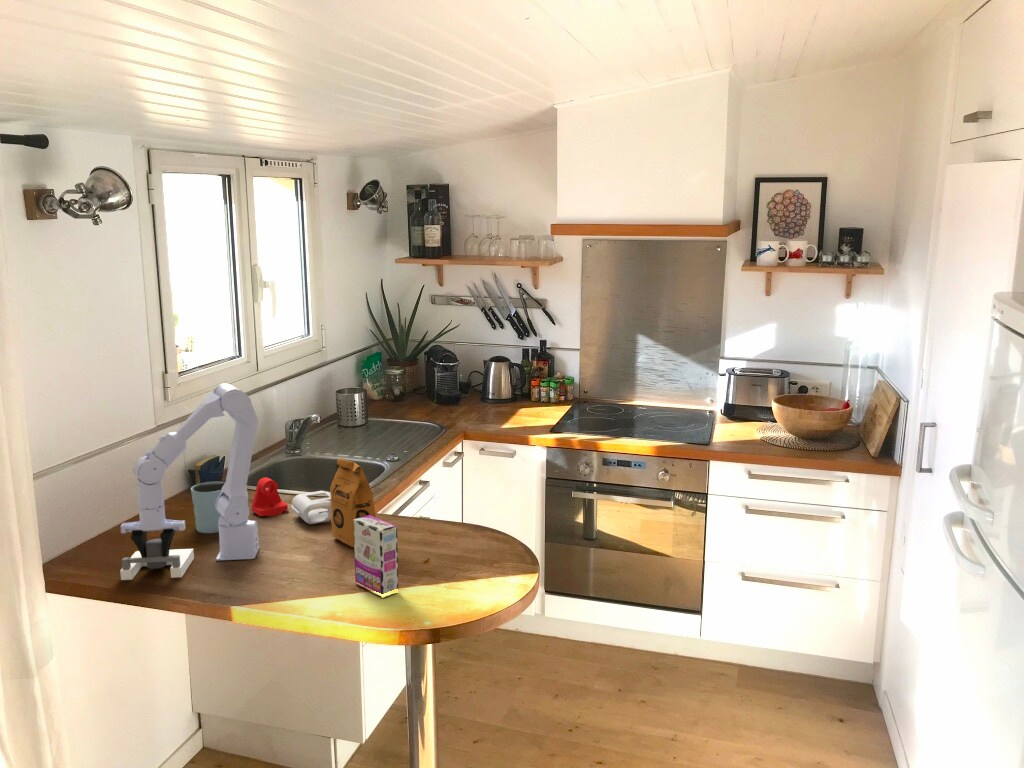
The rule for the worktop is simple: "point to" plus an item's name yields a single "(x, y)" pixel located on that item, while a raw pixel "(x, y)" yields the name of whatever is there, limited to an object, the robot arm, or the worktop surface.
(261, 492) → the bracket
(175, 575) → the white frame with crossbar
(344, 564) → the worktop surface
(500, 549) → the worktop surface
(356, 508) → the coffee package
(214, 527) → the pale teal cup
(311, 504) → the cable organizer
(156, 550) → the grey rounded cylinder
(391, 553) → the candy bar box
